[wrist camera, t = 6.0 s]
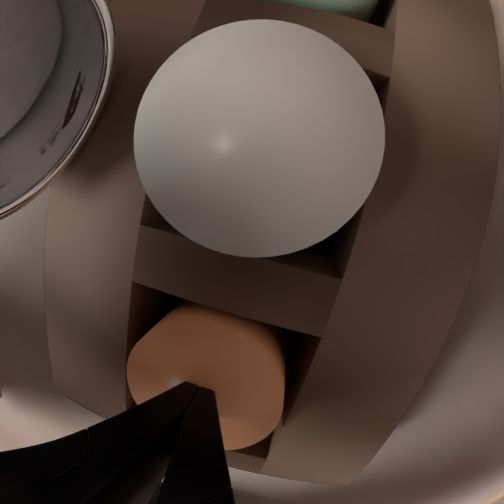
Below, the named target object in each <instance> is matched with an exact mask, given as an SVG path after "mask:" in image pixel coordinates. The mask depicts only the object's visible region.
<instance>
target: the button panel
mask: <svg viewBox="0 0 504 504" xmlns="http://www.w3.org/2000/svg"><path fill="white" fill-rule="evenodd" d="M110 6H111V9H112V12H113V15H114V19H115V24H116V32H117V56H116V65H115V71H114V76H113V80H112V84H111V87H110V91H109V94H108V97H107V100H106V102H105V105H104V107H103V110H102V112H101V114H100V116H99V119H98V121H97V123H96V125H95V126H94V128H93V130H92V132H91V134H90V135H89V137H88V139H87V140H86V142H85V143H84V145H83V147H82V148H81V150H80V151H79V152H78V154H77V155H76V156H75V158H74V159H73V160H72V162H71V163H70V164H69V165H68V167H67V168H66V169H65V170H64V171H63V172H62V174H61V175H60V176H59V177H58V178H57V179H56V180H55V181H54V182H53V183H52V184H51V188H50V195H49V203H48V212H47V222H46V235H45V255H44V297H45V317H46V330H47V340H48V349H49V357H50V364H51V370H52V376H53V382H54V387H55V390H57V391H58V392H60V393H62V394H63V395H65V396H66V397H68V398H70V399H71V400H73V401H75V402H76V403H78V404H80V405H81V406H83V407H85V408H87V409H88V410H90V411H92V412H94V413H95V414H97V415H99V416H101V417H103V418H105V419H109V418H111V417H113V416H115V415H118V414H120V413H122V412H124V411H126V410H128V409H130V408H132V407H135V406H137V404H136V402H135V400H134V398H133V396H132V394H131V391H130V389H129V386H128V381H127V362H128V358H129V355H130V353H131V351H132V349H133V347H134V346H135V345H136V343H137V342H138V341H139V340H140V339H141V338H142V337H143V336H144V335H146V334H147V333H148V332H149V331H150V330H151V329H152V328H153V327H154V326H155V325H156V324H157V323H158V322H159V321H160V316H161V308H162V301H163V294H164V292H166V293H168V294H171V295H175V296H178V297H181V298H184V299H187V300H190V301H193V302H196V303H199V304H202V305H206V306H209V307H212V308H215V309H219V310H222V311H225V312H229V313H232V314H235V315H239V316H242V317H246V318H249V319H253V320H256V321H260V322H264V323H267V324H271V325H275V326H278V327H282V328H286V329H290V330H294V331H298V332H302V333H305V334H304V337H303V339H302V342H301V345H300V347H299V350H298V353H297V355H296V358H295V361H294V363H293V366H292V368H291V371H290V374H289V376H288V379H287V381H286V384H285V390H284V403H283V411H282V415H281V418H280V421H279V422H278V424H277V426H276V427H275V429H274V430H273V431H272V432H271V433H270V434H269V435H268V436H267V437H266V438H264V439H263V440H261V441H259V442H258V443H255V444H253V445H251V446H248V447H245V448H241V449H235V450H225V455H226V460H227V465H228V466H229V467H233V468H236V469H240V470H245V471H249V472H253V473H258V474H263V475H268V476H273V477H279V478H285V479H291V480H298V481H305V482H313V483H323V484H335V485H350V484H351V483H352V482H353V481H354V480H355V478H356V477H357V476H358V475H359V474H360V473H361V472H362V470H363V469H364V468H365V467H366V466H367V464H368V463H369V462H370V461H371V459H372V458H373V457H374V456H375V454H376V453H377V452H378V451H379V449H380V448H381V447H382V445H383V444H384V443H385V441H386V440H387V439H388V437H389V436H390V434H391V433H392V432H393V430H394V429H395V427H396V426H397V424H398V423H399V422H400V420H401V419H402V417H403V416H404V414H405V413H406V411H407V409H408V408H409V406H410V405H411V403H412V402H413V400H414V398H415V397H416V395H417V393H418V392H419V390H420V388H421V387H422V385H423V383H424V381H425V380H426V378H427V376H428V374H429V372H430V370H431V369H432V367H433V365H434V363H435V361H436V359H437V357H438V355H439V353H440V351H441V349H442V347H443V345H444V343H445V341H446V339H447V337H448V334H449V332H450V330H451V328H452V325H453V323H454V321H455V318H456V316H457V314H458V311H459V309H460V306H461V304H462V301H463V298H464V296H465V293H466V290H467V288H468V285H469V282H470V279H471V276H472V273H473V270H474V267H475V264H476V261H477V257H478V254H479V250H480V247H481V243H482V240H483V236H484V232H485V228H486V223H487V219H488V215H489V210H490V205H491V200H492V194H493V189H494V182H495V176H496V169H497V160H498V151H499V139H500V121H501V85H500V67H499V56H498V46H497V39H496V32H495V26H494V20H493V15H492V10H491V5H490V1H489V0H382V5H381V15H380V24H379V26H376V25H373V24H370V23H367V22H363V21H360V20H357V19H353V18H350V17H346V16H343V15H339V14H335V13H331V12H327V11H322V10H318V9H313V8H308V7H303V6H297V5H291V4H285V3H278V2H270V1H261V0H111V2H110ZM260 19H268V20H278V21H285V22H289V23H294V24H298V25H301V26H304V27H307V28H309V29H312V30H314V31H316V32H318V33H320V34H322V35H324V36H326V37H328V38H329V39H331V40H332V41H334V42H335V43H337V44H338V45H340V46H341V47H342V48H343V49H344V50H345V51H346V52H348V53H349V54H350V55H351V56H352V57H353V58H354V59H355V60H356V62H357V63H358V64H359V65H360V66H361V67H362V69H363V70H364V72H365V73H366V75H367V76H368V78H369V79H370V81H371V83H372V85H373V87H374V89H375V91H376V94H377V96H378V99H379V102H380V105H381V109H382V112H383V119H384V125H385V147H384V154H383V161H382V164H381V168H380V171H379V174H378V177H377V180H376V182H375V184H374V186H373V188H372V190H371V192H370V194H369V195H368V197H367V199H366V200H365V202H364V203H363V205H362V206H361V207H360V209H359V210H358V211H357V212H356V213H355V214H354V215H353V217H352V218H351V219H350V220H349V221H348V222H346V223H345V224H344V225H343V226H342V227H341V228H340V229H338V231H337V234H336V238H335V241H334V245H333V248H332V252H331V255H330V258H328V257H325V256H321V255H318V254H314V253H310V252H307V251H303V250H299V251H296V252H293V253H289V254H284V255H279V256H273V257H256V258H254V257H241V256H234V255H229V254H225V253H220V252H218V251H215V250H212V249H209V248H206V247H204V246H202V245H200V244H198V243H196V242H194V241H192V240H190V239H189V238H187V237H186V236H185V235H183V234H182V233H180V232H179V231H177V230H176V229H175V228H174V227H173V226H172V225H171V224H170V223H168V222H167V221H166V220H165V219H164V217H163V216H162V215H161V214H160V213H159V211H158V210H157V209H156V208H155V206H154V205H153V203H152V202H151V200H150V198H149V197H148V195H147V193H146V191H145V189H144V187H143V185H142V182H141V180H140V176H139V173H138V170H137V166H136V160H135V155H134V128H135V121H136V116H137V112H138V108H139V105H140V102H141V100H142V97H143V94H144V92H145V90H146V89H147V87H148V85H149V83H150V81H151V79H152V78H153V77H154V75H155V74H156V72H157V71H158V69H159V68H160V67H161V66H162V65H163V63H164V62H165V61H166V60H167V59H168V58H169V57H170V56H171V55H172V54H173V53H174V52H175V51H177V50H178V49H179V48H180V47H181V46H183V45H184V44H186V43H187V42H188V41H190V40H191V39H193V38H195V37H197V36H198V35H200V34H202V33H204V32H206V31H208V30H211V29H214V28H216V27H219V26H222V25H225V24H229V23H233V22H238V21H245V20H260ZM80 76H81V71H80V72H79V74H78V77H77V80H76V83H75V86H74V89H73V92H72V95H71V98H70V102H69V105H68V108H67V112H66V116H65V119H64V123H63V127H62V129H64V128H65V126H66V125H67V124H68V123H69V121H70V120H71V118H72V116H73V115H74V113H75V110H76V108H77V105H78V101H79V97H80V91H81V83H80V85H79V87H80V90H79V92H78V97H77V98H76V100H75V97H76V90H77V86H78V83H79V80H80ZM73 105H74V107H73ZM72 108H73V111H72V113H71V110H72Z"/></svg>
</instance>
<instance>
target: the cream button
mask: <svg viewBox="0 0 504 504" xmlns="http://www.w3.org/2000/svg"><path fill="white" fill-rule="evenodd" d="M384 147H385V125H384V119H383V112H382V109H381V105H380V102H379V99H378V96H377V94H376V91H375V89H374V87H373V85H372V83H371V81H370V79H369V78H368V76H367V75H366V73H365V72H364V70H363V69H362V67H361V66H360V65H359V64H358V63H357V62H356V60H355V59H354V58H353V57H352V56H351V55H350V54H349V53H348V52H346V51H345V50H344V49H343V48H342V47H341V46H340V45H338V44H337V43H335V42H334V41H332V40H331V39H329V38H328V37H326V36H324V35H322V34H320V33H318V32H316V31H314V30H312V29H309V28H307V27H304V26H301V25H298V24H294V23H289V22H285V21H278V20H268V19H260V20H245V21H238V22H233V23H229V24H225V25H222V26H219V27H216V28H214V29H211V30H208V31H206V32H204V33H202V34H200V35H198V36H197V37H195V38H193V39H191V40H190V41H188V42H187V43H186V44H184V45H183V46H181V47H180V48H179V49H178V50H177V51H175V52H174V53H173V54H172V55H171V56H170V57H169V58H168V59H167V60H166V61H165V62H164V63H163V65H162V66H161V67H160V68H159V69H158V71H157V72H156V74H155V75H154V77H153V78H152V79H151V81H150V83H149V85H148V87H147V89H146V90H145V92H144V94H143V97H142V100H141V102H140V105H139V108H138V112H137V116H136V121H135V128H134V155H135V160H136V166H137V170H138V173H139V176H140V180H141V182H142V185H143V187H144V189H145V191H146V193H147V195H148V197H149V198H150V200H151V202H152V203H153V205H154V206H155V208H156V209H157V210H158V211H159V213H160V214H161V215H162V216H163V217H164V219H165V220H166V221H167V222H168V223H170V224H171V225H172V226H173V227H174V228H175V229H176V230H177V231H179V232H180V233H182V234H183V235H185V236H186V237H187V238H189V239H190V240H192V241H194V242H196V243H198V244H200V245H202V246H204V247H206V248H209V249H212V250H215V251H218V252H220V253H225V254H229V255H234V256H241V257H254V258H256V257H273V256H279V255H284V254H289V253H293V252H296V251H299V250H302V249H305V248H307V247H310V246H312V245H314V244H316V243H318V242H320V241H322V240H324V239H325V238H327V237H328V236H330V235H331V234H333V233H334V232H336V231H337V230H338V229H340V228H341V227H342V226H343V225H344V224H345V223H346V222H348V221H349V220H350V219H351V218H352V217H353V215H354V214H355V213H356V212H357V211H358V210H359V209H360V207H361V206H362V205H363V203H364V202H365V200H366V199H367V197H368V195H369V194H370V192H371V190H372V188H373V186H374V184H375V182H376V180H377V177H378V174H379V171H380V168H381V164H382V161H383V154H384Z"/></svg>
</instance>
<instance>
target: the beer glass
mask: <svg viewBox="0 0 504 504" xmlns="http://www.w3.org/2000/svg"><path fill="white" fill-rule="evenodd" d="M116 56H117V32H116V24H115V19H114V15H113V12H112V9H111V6H110V3H109V1H108V0H0V220H2V219H4V218H6V217H8V216H10V215H12V214H13V213H15V212H17V211H18V210H20V209H21V208H23V207H24V206H26V205H27V204H28V203H30V202H31V201H32V200H34V199H35V198H36V197H38V196H39V195H40V194H41V193H42V192H43V191H45V190H46V189H47V188H48V187H49V186H50V185H51V184H52V183H53V182H54V181H55V180H56V179H57V178H58V177H59V176H60V175H61V174H62V172H63V171H64V170H65V169H66V168H67V167H68V165H69V164H70V163H71V162H72V160H73V159H74V158H75V156H76V155H77V154H78V152H79V151H80V150H81V148H82V147H83V145H84V143H85V142H86V140H87V139H88V137H89V135H90V134H91V132H92V130H93V128H94V126H95V125H96V123H97V121H98V119H99V116H100V114H101V112H102V110H103V107H104V105H105V102H106V100H107V97H108V94H109V91H110V87H111V84H112V80H113V76H114V71H115V65H116ZM80 71H81V76H80V80H79V83H78V86H77V90H76V97H75V100H76V98H77V97H78V92H79V90H80V87H79V85H80V83H81V91H80V97H79V101H78V105H77V108H76V110H75V113H74V115H73V116H72V118H71V120H70V121H69V123H68V124H67V125H66V126H65V128H64V129H62V127H63V123H64V119H65V116H66V112H67V108H68V105H69V102H70V98H71V95H72V92H73V89H74V86H75V83H76V80H77V77H78V74H79V72H80ZM73 107H74V105H73ZM72 111H73V108H72V110H71V113H72Z"/></svg>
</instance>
